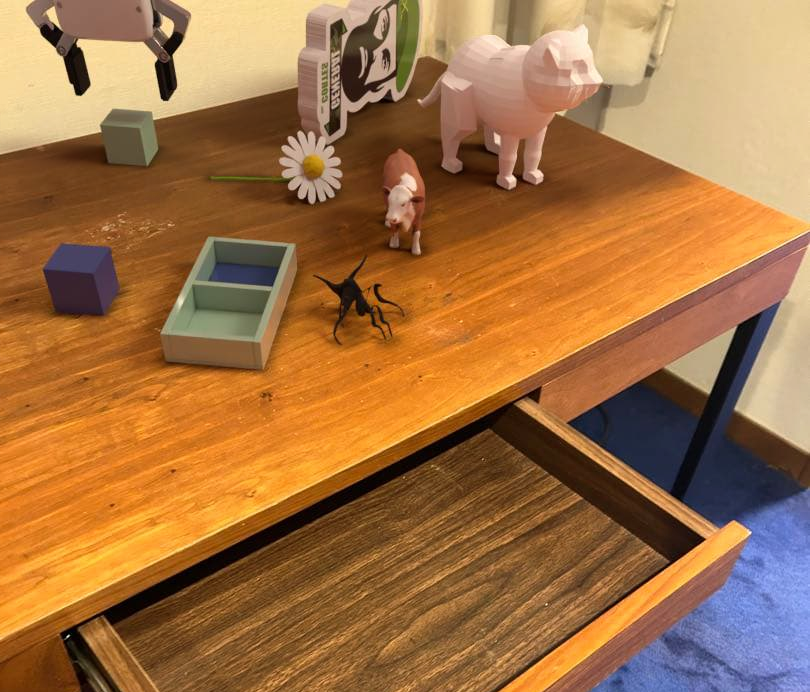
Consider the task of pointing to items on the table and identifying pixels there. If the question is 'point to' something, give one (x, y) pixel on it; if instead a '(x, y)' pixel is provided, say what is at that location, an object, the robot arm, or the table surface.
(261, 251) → the sorting tray
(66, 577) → the table surface
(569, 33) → the cat figurine
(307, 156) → the decorative flower
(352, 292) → the creature
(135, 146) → the celadon block
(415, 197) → the bull figurine
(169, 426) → the table surface
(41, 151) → the table surface
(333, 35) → the cutout
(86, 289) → the indigo block
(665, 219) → the table surface
